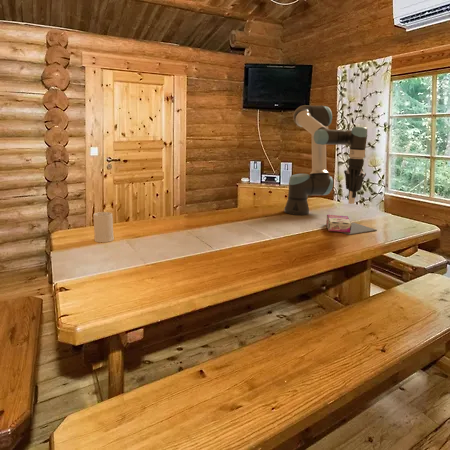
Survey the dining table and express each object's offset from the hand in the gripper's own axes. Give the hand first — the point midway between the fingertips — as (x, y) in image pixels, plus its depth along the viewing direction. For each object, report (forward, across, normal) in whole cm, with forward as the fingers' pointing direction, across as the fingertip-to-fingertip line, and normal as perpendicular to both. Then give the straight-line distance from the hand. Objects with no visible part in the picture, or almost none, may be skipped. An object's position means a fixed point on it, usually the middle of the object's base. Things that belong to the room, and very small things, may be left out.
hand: (351, 203), depth 207 cm
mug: (+14, -31, -121) cm, 126 cm away
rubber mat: (+13, +2, 0) cm, 14 cm away
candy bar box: (+10, -8, -2) cm, 13 cm away
